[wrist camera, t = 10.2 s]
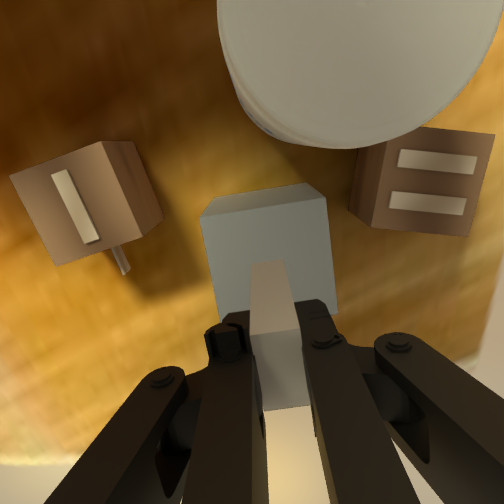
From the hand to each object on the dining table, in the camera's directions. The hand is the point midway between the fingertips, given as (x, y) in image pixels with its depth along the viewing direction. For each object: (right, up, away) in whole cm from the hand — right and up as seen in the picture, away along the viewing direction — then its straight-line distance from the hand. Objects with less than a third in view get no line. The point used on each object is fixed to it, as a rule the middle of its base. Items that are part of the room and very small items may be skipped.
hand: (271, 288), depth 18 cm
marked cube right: (+10, +7, +10) cm, 16 cm away
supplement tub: (+3, +14, +9) cm, 17 cm away
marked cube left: (-11, +5, +11) cm, 16 cm away
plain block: (0, +3, +12) cm, 12 cm away
